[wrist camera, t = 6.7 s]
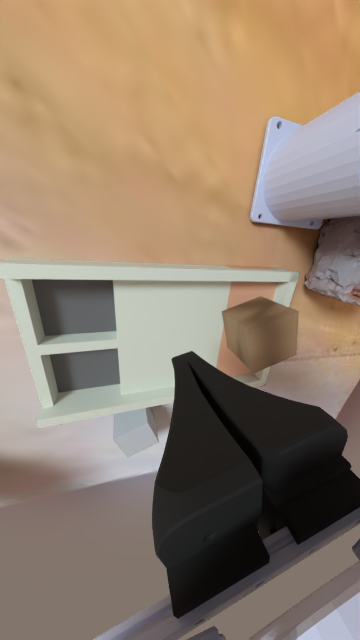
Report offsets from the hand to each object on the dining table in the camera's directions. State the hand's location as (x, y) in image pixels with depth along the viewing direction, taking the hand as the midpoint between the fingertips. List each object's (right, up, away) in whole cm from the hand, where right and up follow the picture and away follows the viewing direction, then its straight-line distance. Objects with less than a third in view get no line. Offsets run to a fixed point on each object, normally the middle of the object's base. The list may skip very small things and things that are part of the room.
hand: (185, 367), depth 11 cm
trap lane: (-2, +2, +10) cm, 11 cm away
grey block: (-6, -10, +14) cm, 18 cm away
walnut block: (+7, +3, +10) cm, 13 cm away
